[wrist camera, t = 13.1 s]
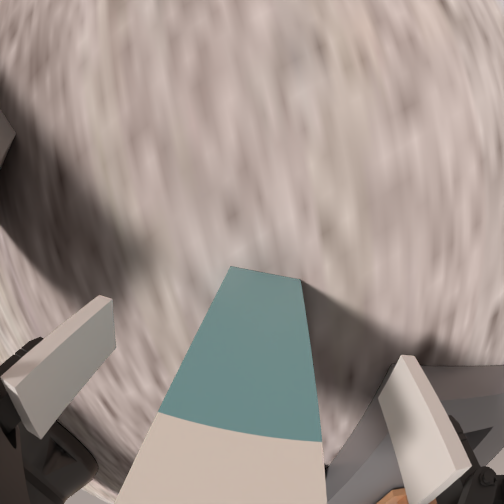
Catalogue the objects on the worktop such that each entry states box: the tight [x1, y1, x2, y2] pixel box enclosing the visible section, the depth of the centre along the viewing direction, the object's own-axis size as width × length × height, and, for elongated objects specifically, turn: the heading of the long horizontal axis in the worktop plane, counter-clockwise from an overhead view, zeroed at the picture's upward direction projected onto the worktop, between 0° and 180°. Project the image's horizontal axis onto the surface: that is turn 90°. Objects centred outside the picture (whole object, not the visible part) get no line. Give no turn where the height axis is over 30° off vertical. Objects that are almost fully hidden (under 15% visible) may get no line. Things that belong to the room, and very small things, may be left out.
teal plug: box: [114, 266, 327, 504], centre depth 10 cm, size 4×4×14 cm
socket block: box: [325, 364, 504, 504], centre depth 18 cm, size 20×20×4 cm
